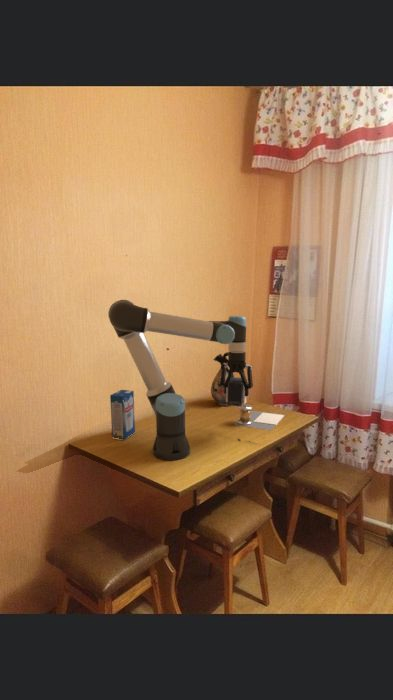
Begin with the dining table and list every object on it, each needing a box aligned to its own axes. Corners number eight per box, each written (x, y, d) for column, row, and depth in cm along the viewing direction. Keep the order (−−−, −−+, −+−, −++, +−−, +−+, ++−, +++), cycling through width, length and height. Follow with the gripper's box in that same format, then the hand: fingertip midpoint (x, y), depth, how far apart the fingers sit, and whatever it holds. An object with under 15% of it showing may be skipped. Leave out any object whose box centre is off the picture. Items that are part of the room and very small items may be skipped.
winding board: (232, 427, 203) (232, 423, 203) (249, 413, 224) (249, 409, 224) (271, 433, 195) (271, 429, 195) (285, 417, 216) (285, 414, 216)
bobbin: (235, 424, 203) (235, 407, 202) (240, 419, 210) (240, 403, 208) (249, 426, 200) (249, 409, 199) (254, 421, 207) (254, 405, 205)
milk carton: (123, 431, 200) (121, 389, 196) (135, 432, 198) (133, 390, 194) (112, 438, 190) (110, 395, 187) (124, 440, 188) (122, 396, 185)
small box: (242, 406, 186) (242, 383, 184) (227, 405, 187) (227, 382, 185) (244, 399, 196) (244, 377, 194) (230, 399, 197) (230, 376, 195)
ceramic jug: (206, 406, 237) (206, 352, 232) (216, 399, 251) (216, 348, 246) (236, 409, 230) (236, 354, 225) (244, 401, 244) (244, 350, 239)
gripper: (261, 351, 187) (260, 402, 190) (219, 348, 195) (218, 397, 199) (256, 354, 180) (255, 407, 184) (212, 350, 188) (212, 401, 192)
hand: (236, 402), depth 191 cm, fingers closed on small box, 7 cm apart
